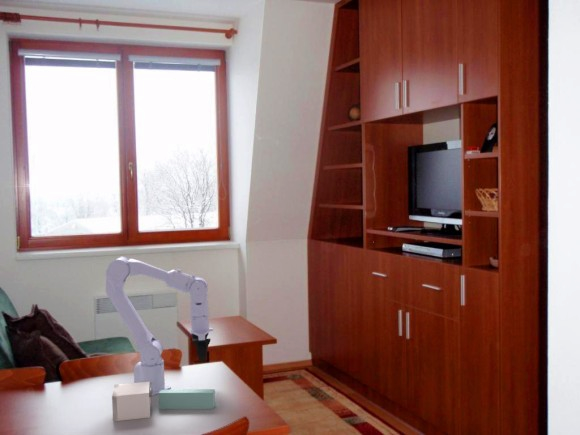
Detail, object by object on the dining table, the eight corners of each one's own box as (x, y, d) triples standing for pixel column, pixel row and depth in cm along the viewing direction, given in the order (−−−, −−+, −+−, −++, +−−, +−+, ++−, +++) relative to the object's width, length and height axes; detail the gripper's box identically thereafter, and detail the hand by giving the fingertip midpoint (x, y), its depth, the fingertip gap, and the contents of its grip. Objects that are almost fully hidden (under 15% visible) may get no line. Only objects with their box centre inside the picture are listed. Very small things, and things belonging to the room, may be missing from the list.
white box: (113, 421, 176) (111, 396, 176) (115, 408, 187) (114, 384, 187) (153, 417, 178) (152, 392, 178) (153, 404, 189) (152, 381, 189)
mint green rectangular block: (159, 409, 185) (158, 392, 185) (162, 406, 188) (161, 389, 188) (213, 409, 183) (212, 392, 183) (215, 406, 186) (214, 389, 186)
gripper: (214, 319, 197) (215, 362, 198) (210, 310, 211) (212, 351, 212) (191, 320, 196) (193, 364, 196) (189, 312, 210) (190, 352, 211)
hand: (201, 357), depth 204 cm, fingers open, 7 cm apart
